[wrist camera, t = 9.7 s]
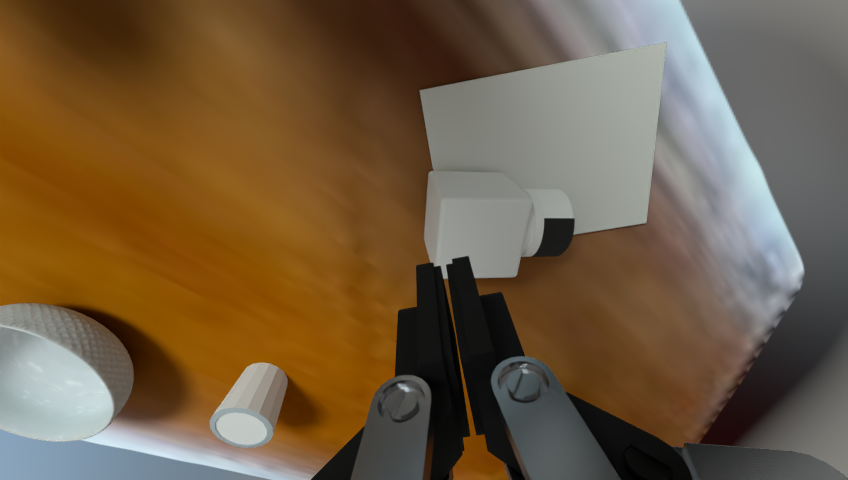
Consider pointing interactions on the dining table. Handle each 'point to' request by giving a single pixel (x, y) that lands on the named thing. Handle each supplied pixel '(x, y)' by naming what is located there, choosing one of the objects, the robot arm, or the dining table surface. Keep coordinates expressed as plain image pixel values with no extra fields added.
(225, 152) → the dining table surface
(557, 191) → the medicine bottle
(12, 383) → the cereal bowl
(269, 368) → the shot glass
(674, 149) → the dining table surface
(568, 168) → the mat
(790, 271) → the dining table surface
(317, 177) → the dining table surface
